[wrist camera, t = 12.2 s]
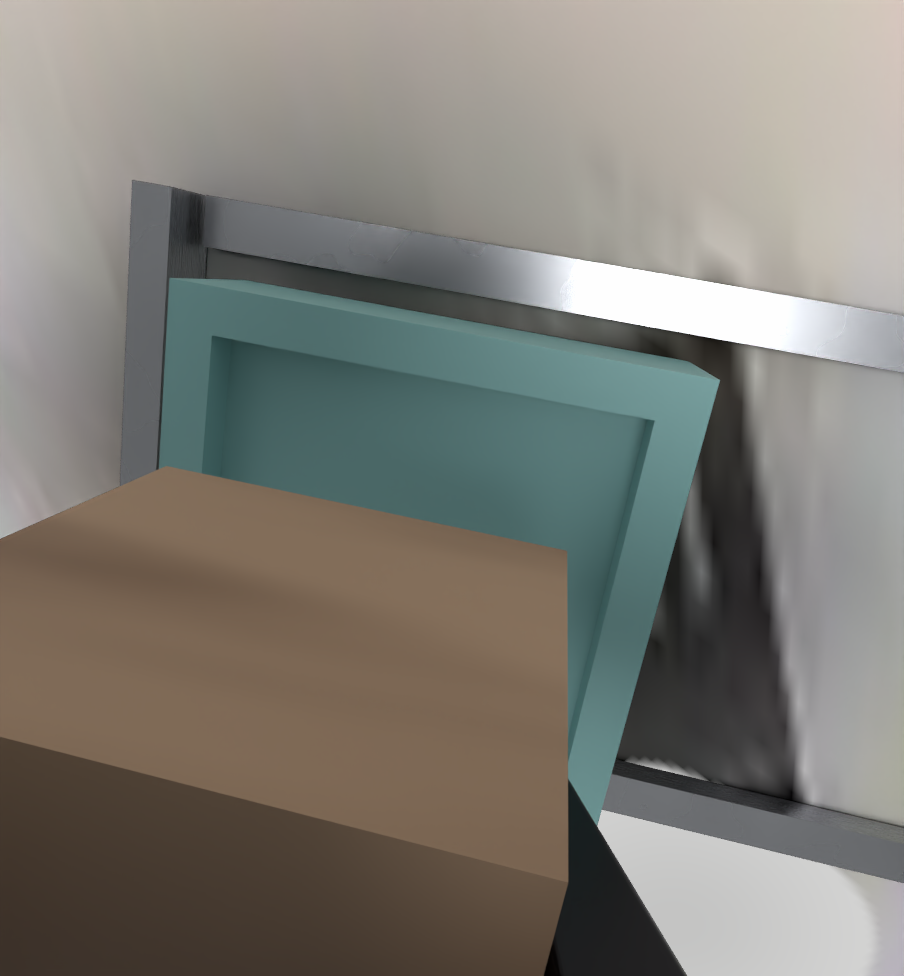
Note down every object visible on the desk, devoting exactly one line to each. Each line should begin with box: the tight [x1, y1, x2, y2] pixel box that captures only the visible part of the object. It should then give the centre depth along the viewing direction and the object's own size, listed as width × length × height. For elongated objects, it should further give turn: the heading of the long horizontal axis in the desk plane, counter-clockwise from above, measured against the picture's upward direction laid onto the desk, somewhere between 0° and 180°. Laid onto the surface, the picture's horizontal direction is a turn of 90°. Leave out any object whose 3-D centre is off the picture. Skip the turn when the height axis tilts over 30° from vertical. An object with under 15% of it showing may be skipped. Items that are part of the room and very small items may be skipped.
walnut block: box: [0, 466, 568, 976], centre depth 7 cm, size 5×5×5 cm
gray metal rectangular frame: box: [120, 180, 904, 883], centre depth 15 cm, size 12×22×2 cm, turn 81°
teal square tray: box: [159, 278, 720, 826], centre depth 15 cm, size 9×9×4 cm
